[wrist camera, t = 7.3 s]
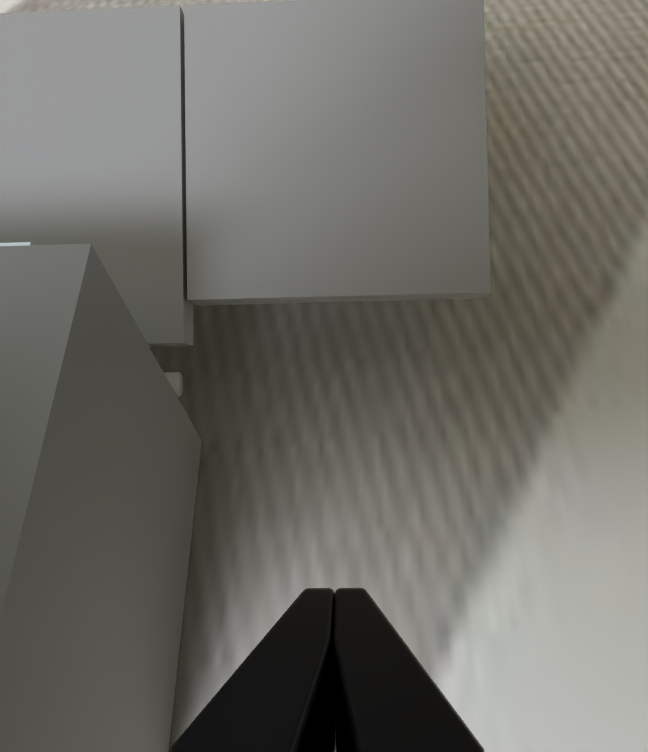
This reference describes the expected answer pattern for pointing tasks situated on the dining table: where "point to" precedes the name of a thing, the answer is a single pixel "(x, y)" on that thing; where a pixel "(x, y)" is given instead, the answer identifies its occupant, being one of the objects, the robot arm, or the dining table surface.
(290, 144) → the side door
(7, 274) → the grey box
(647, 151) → the dining table surface
